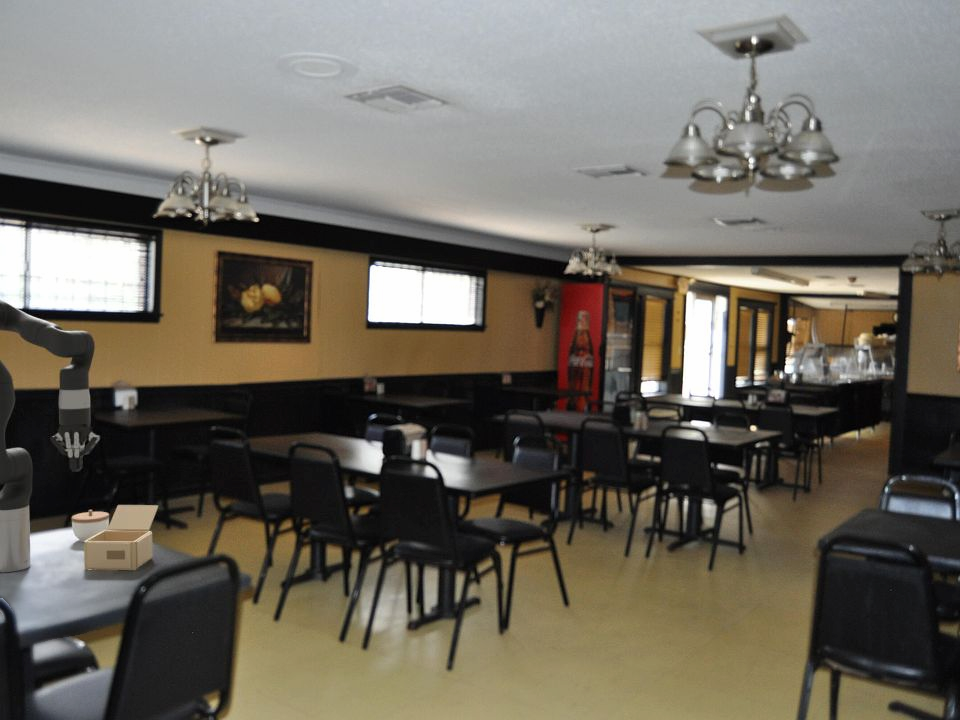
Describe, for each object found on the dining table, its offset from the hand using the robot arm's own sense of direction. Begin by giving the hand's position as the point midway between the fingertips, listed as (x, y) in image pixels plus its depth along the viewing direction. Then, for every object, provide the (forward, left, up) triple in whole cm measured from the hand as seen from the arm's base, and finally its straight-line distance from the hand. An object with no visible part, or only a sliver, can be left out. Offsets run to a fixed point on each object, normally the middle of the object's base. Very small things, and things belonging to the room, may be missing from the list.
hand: (76, 470), depth 229 cm
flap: (-5, +19, -21) cm, 29 cm away
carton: (-2, +14, -29) cm, 32 cm away
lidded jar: (-32, +26, -29) cm, 51 cm away
